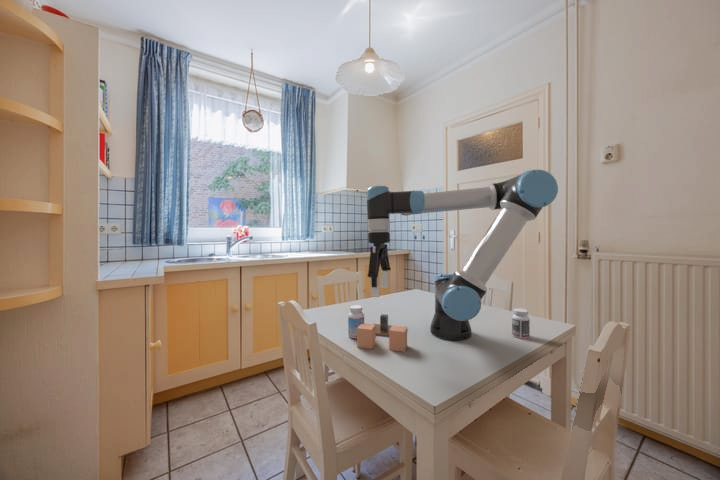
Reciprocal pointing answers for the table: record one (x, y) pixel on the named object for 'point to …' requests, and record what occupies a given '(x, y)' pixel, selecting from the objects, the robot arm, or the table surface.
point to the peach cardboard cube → (366, 336)
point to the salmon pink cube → (398, 338)
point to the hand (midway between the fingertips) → (380, 292)
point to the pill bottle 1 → (355, 320)
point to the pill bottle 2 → (520, 324)
